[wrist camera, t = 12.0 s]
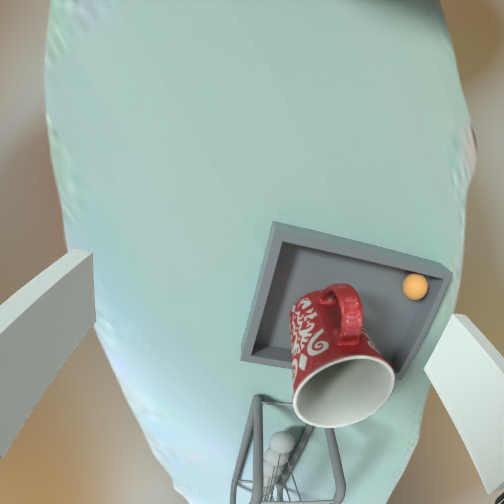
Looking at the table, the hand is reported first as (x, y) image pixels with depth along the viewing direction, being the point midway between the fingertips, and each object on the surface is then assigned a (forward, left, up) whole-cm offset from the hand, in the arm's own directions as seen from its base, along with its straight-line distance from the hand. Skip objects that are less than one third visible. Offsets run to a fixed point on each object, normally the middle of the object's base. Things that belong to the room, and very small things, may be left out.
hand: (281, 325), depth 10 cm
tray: (+10, +12, -24) cm, 29 cm away
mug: (+10, +9, -23) cm, 27 cm away
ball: (+5, +19, -23) cm, 31 cm away
